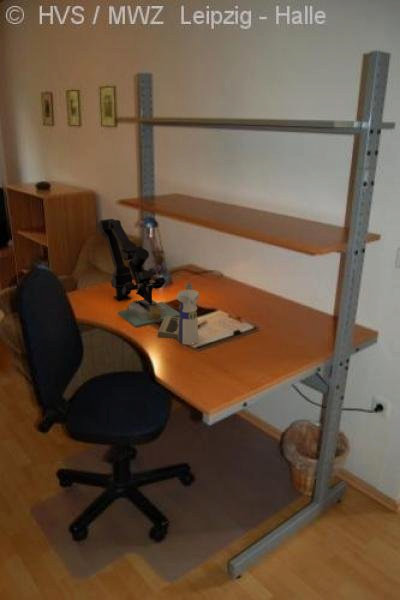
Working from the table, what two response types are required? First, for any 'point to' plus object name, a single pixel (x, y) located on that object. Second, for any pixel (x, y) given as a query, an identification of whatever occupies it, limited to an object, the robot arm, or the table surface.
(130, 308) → the heat sink
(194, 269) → the table surface
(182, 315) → the water bottle
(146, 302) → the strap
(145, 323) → the board
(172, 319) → the computer
